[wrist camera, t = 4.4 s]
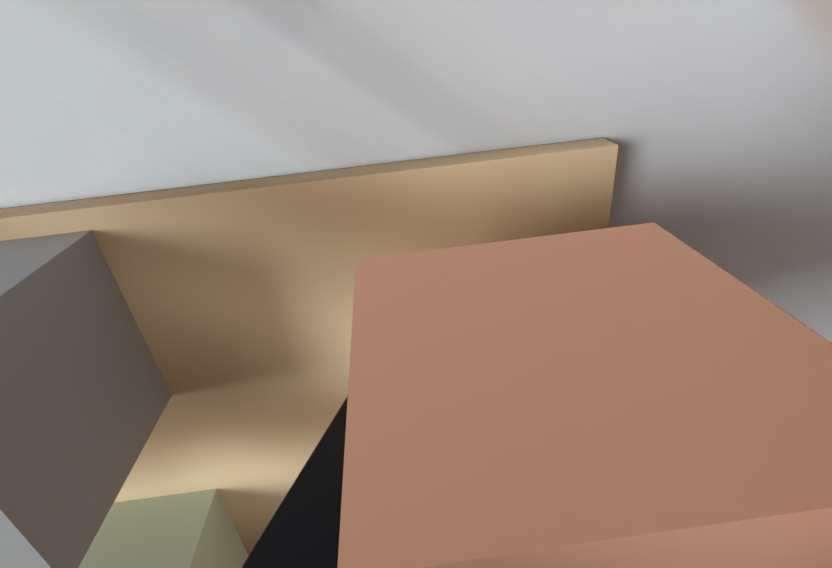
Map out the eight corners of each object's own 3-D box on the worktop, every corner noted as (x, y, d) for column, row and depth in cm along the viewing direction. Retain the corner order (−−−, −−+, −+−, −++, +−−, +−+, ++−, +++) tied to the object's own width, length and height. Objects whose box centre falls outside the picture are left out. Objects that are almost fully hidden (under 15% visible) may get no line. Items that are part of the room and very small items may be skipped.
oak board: (563, 518, 18) (570, 537, 18) (112, 582, 18) (101, 604, 17) (602, 137, 11) (618, 145, 10) (-164, 228, 11) (-201, 242, 10)
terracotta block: (617, 433, 10) (805, 739, 6) (393, 464, 10) (410, 802, 6) (654, 222, 8) (1029, 478, 3) (355, 259, 7) (337, 579, 3)
